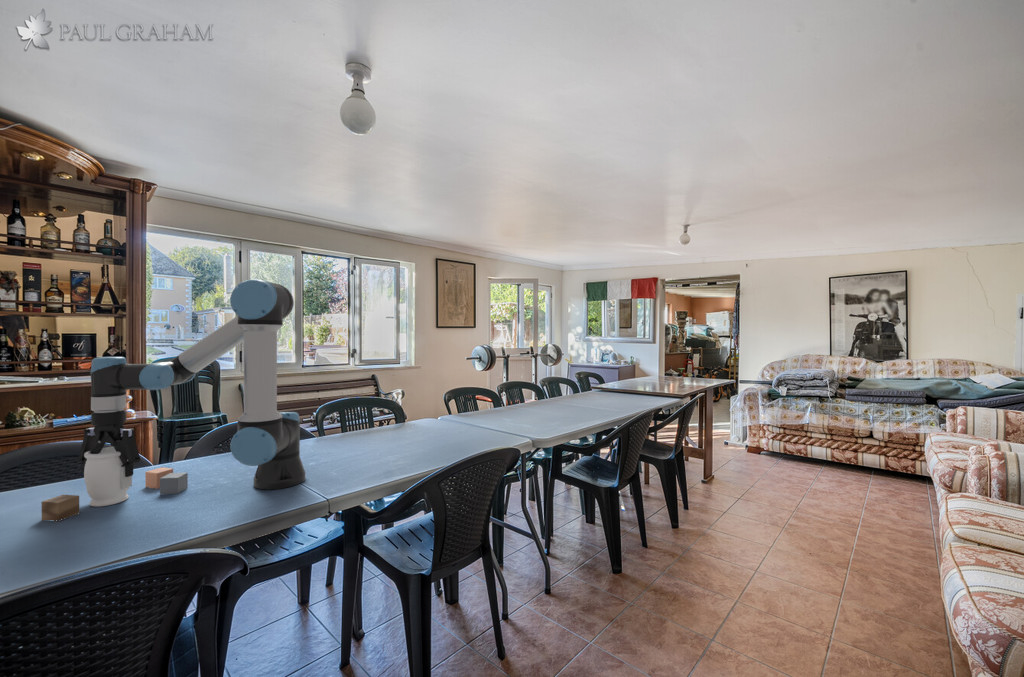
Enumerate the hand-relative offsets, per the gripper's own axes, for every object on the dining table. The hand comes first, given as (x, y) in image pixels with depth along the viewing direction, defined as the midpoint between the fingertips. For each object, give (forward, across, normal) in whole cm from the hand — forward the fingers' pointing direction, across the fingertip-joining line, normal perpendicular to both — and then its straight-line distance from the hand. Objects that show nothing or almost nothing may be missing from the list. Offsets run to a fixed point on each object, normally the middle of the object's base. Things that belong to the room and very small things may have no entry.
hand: (109, 486), depth 128 cm
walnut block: (+4, +2, +11) cm, 12 cm away
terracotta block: (+4, -2, -14) cm, 15 cm away
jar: (+4, 0, 0) cm, 4 cm away
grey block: (+4, -11, -10) cm, 16 cm away
